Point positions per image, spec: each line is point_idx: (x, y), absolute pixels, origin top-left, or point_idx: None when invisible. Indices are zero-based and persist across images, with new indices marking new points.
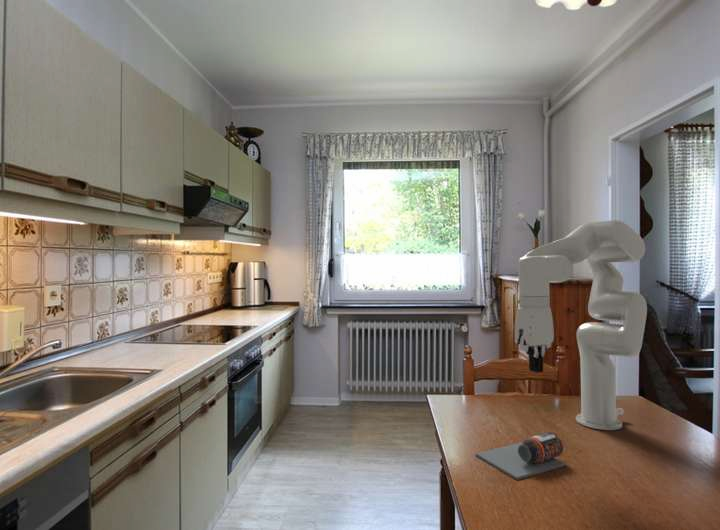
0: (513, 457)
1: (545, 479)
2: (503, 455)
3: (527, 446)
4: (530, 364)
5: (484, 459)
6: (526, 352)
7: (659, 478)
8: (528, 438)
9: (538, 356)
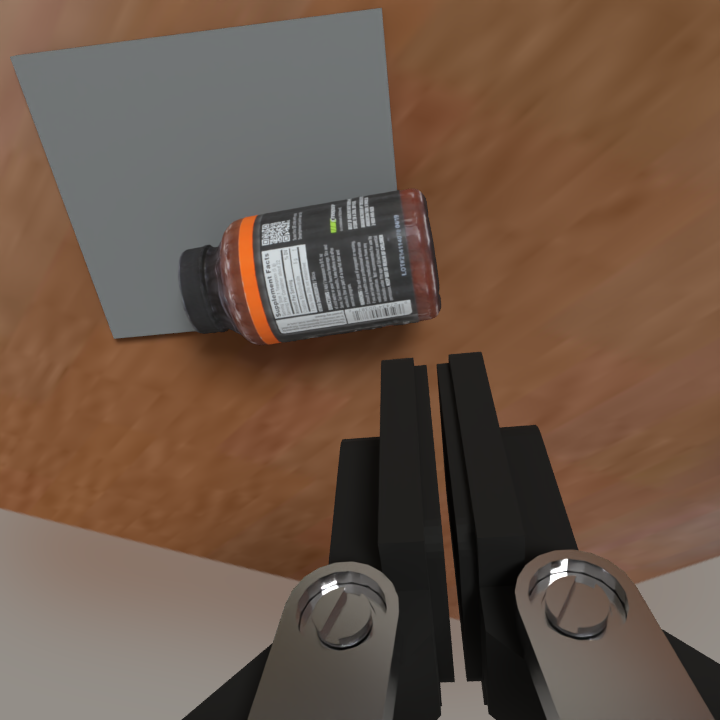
0: (203, 180)
1: (237, 363)
2: (162, 140)
3: (196, 323)
4: (342, 483)
5: (41, 133)
6: (204, 708)
7: (645, 478)
8: (233, 291)
9: (481, 664)
